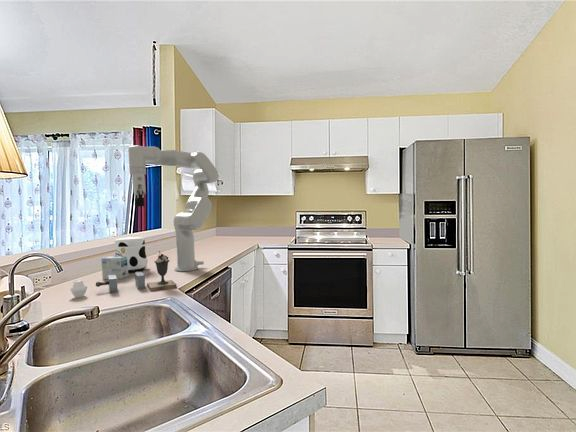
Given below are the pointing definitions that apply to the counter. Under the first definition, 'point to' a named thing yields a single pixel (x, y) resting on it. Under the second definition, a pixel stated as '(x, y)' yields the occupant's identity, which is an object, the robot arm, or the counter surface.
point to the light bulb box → (115, 266)
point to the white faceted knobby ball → (78, 289)
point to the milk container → (132, 252)
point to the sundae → (162, 267)
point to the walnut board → (154, 286)
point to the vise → (113, 282)
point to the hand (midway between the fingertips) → (139, 206)
